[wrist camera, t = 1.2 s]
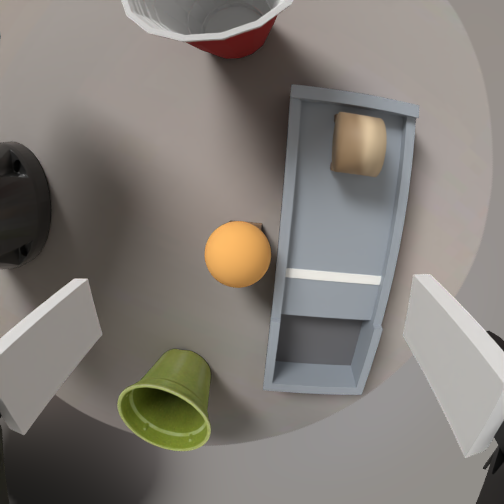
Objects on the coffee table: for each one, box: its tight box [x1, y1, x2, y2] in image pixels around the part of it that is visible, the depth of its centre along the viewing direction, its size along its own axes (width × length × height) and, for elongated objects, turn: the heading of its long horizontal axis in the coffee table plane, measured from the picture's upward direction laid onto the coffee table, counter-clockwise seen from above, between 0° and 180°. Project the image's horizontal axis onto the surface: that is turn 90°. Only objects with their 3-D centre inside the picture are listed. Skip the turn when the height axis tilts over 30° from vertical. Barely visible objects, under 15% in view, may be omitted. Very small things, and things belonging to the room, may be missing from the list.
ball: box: [205, 221, 271, 288], centre depth 24 cm, size 5×5×5 cm
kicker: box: [330, 112, 387, 177], centre depth 21 cm, size 3×4×4 cm
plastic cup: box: [121, 0, 293, 59], centre depth 18 cm, size 11×11×12 cm
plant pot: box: [117, 349, 211, 451], centre depth 30 cm, size 9×9×9 cm
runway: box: [263, 84, 419, 395], centre depth 27 cm, size 10×27×4 cm, turn 176°
